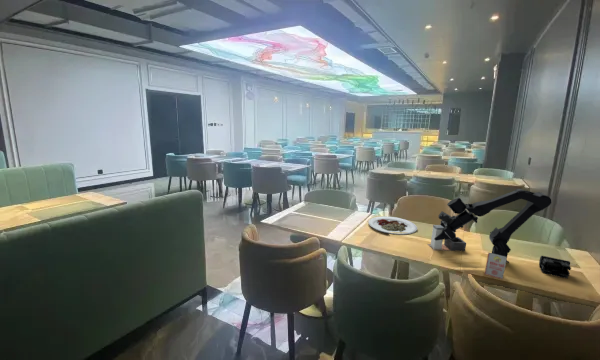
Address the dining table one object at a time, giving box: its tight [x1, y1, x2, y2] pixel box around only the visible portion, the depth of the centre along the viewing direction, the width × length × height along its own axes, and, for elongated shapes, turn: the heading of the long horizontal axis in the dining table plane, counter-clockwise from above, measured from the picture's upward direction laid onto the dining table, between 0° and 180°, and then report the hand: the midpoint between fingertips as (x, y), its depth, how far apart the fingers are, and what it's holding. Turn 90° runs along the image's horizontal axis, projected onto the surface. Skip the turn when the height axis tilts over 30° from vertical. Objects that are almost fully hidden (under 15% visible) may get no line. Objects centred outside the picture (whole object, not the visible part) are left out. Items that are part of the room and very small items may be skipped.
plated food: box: [368, 216, 418, 235], centre depth 182 cm, size 30×30×3 cm
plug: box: [430, 224, 444, 250], centre depth 151 cm, size 4×4×12 cm
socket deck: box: [427, 236, 467, 252], centre depth 152 cm, size 8×17×6 cm, turn 90°
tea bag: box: [484, 252, 508, 280], centre depth 127 cm, size 4×7×10 cm, turn 53°
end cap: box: [538, 255, 572, 280], centre depth 130 cm, size 10×7×7 cm
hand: (434, 236), depth 151 cm, fingers open, 9 cm apart
